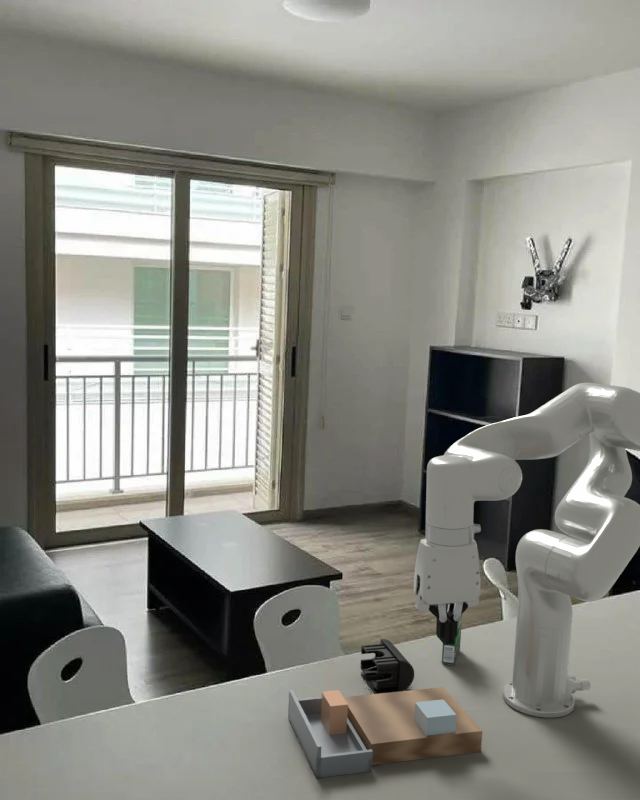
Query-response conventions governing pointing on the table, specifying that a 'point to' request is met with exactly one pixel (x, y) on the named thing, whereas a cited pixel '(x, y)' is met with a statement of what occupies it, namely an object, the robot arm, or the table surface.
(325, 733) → the box
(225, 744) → the table surface
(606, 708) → the table surface
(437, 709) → the pale blue block
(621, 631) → the table surface
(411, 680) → the end cap
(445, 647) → the coffee box
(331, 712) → the block terracotta
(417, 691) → the board
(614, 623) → the table surface
